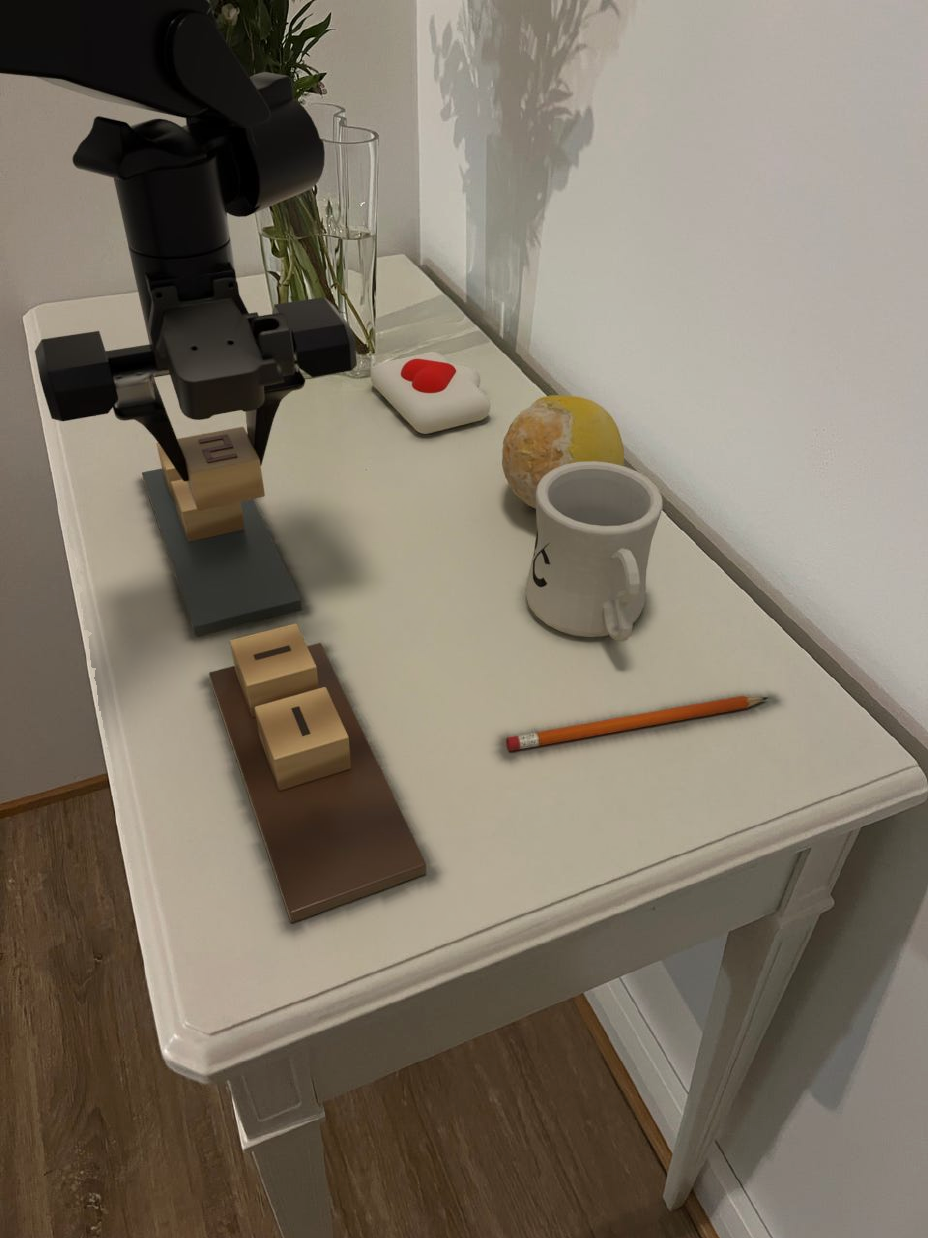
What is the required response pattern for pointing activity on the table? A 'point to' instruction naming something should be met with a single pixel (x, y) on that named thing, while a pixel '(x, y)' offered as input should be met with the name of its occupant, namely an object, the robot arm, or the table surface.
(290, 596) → the back word strip
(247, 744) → the strip
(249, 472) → the number block
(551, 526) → the mug
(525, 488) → the fruit
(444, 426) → the icon
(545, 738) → the pencil
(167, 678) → the table surface
